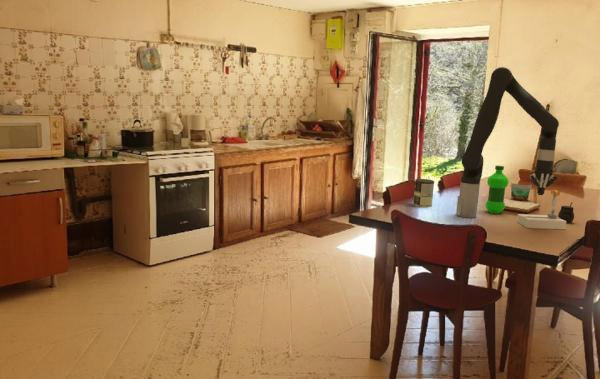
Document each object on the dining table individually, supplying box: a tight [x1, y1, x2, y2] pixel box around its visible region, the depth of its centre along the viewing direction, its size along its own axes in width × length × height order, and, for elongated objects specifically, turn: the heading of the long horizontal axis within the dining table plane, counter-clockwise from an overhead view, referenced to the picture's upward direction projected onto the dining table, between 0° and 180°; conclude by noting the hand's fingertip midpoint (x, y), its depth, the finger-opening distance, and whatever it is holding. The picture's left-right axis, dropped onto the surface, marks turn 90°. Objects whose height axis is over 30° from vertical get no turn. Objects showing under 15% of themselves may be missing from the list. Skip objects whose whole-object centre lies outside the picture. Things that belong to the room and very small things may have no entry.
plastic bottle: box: [485, 165, 510, 214], centre depth 275 cm, size 10×10×25 cm
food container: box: [510, 182, 533, 202], centre depth 315 cm, size 12×6×10 cm, turn 76°
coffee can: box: [412, 178, 435, 208], centre depth 286 cm, size 10×10×14 cm
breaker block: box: [516, 213, 567, 230], centre depth 250 cm, size 18×12×4 cm, turn 91°
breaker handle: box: [547, 189, 561, 218], centre depth 249 cm, size 3×4×13 cm
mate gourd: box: [557, 201, 575, 224], centre depth 261 cm, size 7×8×10 cm
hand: (540, 194), depth 248 cm, fingers closed
